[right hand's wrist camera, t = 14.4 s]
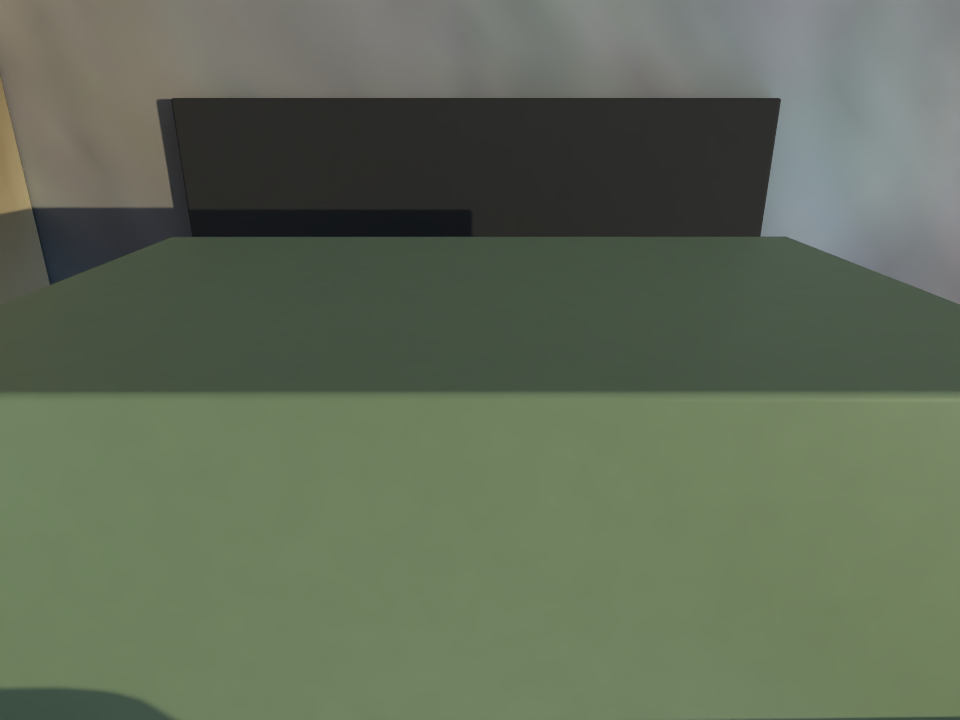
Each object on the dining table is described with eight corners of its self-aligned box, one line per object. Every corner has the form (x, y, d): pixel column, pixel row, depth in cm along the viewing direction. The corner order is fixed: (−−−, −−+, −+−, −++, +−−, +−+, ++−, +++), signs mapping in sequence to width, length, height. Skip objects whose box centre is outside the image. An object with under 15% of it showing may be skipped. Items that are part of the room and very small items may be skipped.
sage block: (721, 634, 15) (917, 1050, 8) (236, 634, 15) (41, 1053, 8) (787, 236, 12) (1196, 393, 5) (169, 236, 12) (-239, 395, 5)
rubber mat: (702, 584, 20) (707, 593, 20) (251, 585, 20) (247, 594, 20) (774, 98, 15) (781, 98, 15) (178, 98, 15) (170, 98, 15)
